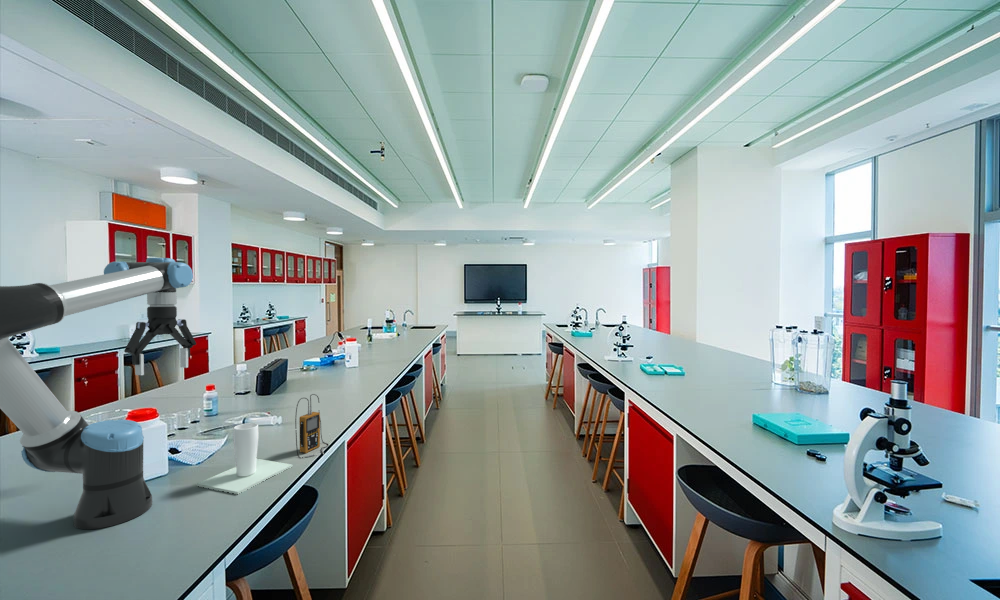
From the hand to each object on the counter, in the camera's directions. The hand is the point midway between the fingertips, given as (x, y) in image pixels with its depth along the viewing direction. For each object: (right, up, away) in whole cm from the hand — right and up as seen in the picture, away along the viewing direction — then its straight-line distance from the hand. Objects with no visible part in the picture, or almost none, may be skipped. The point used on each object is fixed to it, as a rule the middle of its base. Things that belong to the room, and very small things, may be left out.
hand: (163, 371), depth 138 cm
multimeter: (+44, -32, +16) cm, 56 cm away
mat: (+30, -32, -5) cm, 45 cm away
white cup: (+30, -31, -5) cm, 44 cm away
